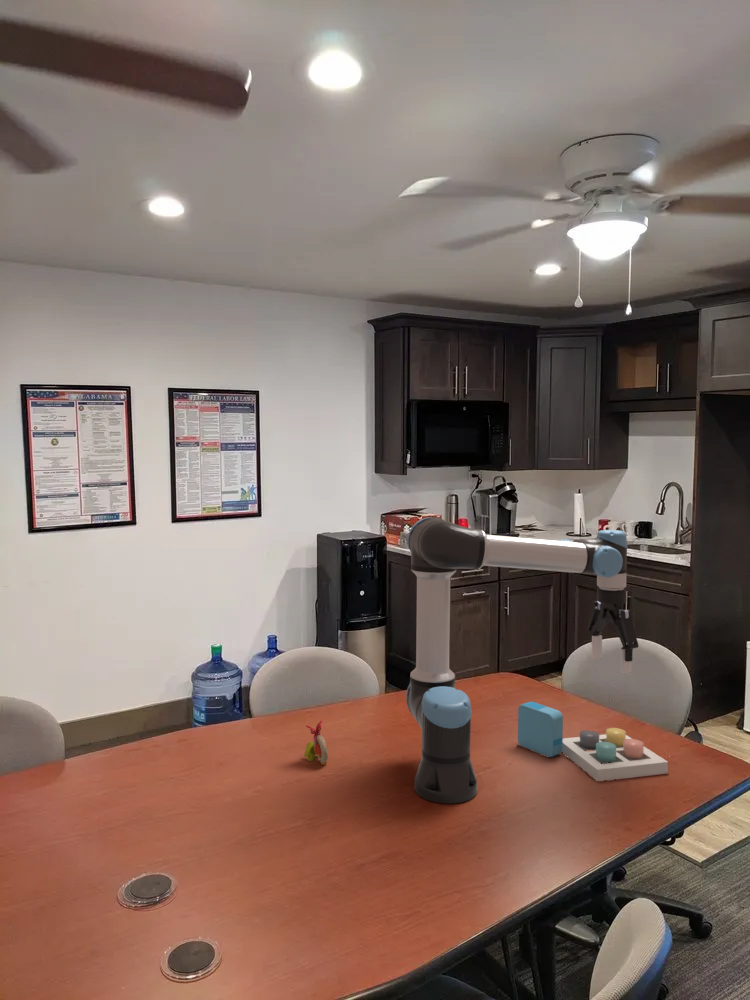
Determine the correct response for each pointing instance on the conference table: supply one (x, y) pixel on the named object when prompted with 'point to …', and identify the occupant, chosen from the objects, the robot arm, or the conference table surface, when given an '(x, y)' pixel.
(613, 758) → the teal button
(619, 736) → the mustard button
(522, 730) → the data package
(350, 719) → the conference table surface
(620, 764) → the tray
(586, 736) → the charcoal button
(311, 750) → the bird rattle
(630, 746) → the coral button
